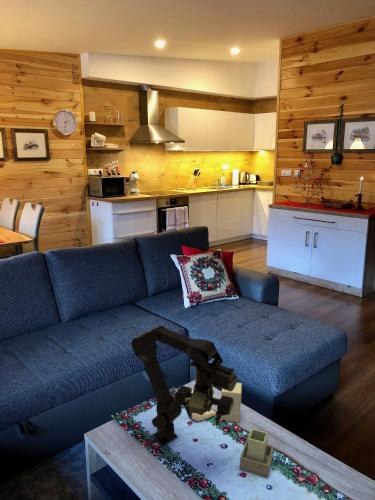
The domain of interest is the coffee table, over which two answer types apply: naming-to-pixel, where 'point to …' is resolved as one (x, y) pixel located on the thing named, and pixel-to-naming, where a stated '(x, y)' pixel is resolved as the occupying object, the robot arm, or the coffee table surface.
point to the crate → (254, 465)
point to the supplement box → (236, 396)
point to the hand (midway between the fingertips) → (203, 421)
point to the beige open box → (257, 446)
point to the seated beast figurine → (204, 416)
